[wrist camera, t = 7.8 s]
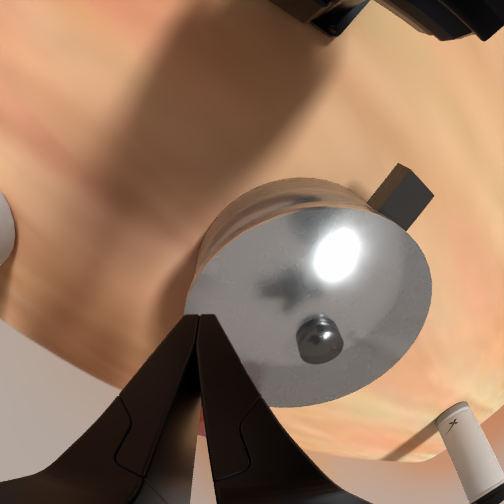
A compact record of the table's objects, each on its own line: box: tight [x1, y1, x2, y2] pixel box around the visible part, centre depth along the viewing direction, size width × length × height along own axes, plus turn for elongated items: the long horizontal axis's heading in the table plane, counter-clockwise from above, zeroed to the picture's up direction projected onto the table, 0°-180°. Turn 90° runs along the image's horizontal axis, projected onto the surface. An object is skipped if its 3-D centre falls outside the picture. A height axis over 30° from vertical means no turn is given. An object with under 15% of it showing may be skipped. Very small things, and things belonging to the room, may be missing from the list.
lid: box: [183, 201, 432, 437], centre depth 18 cm, size 20×15×2 cm
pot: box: [195, 163, 434, 407], centre depth 21 cm, size 23×14×5 cm, turn 145°
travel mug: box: [436, 402, 504, 504], centre depth 29 cm, size 6×7×20 cm
